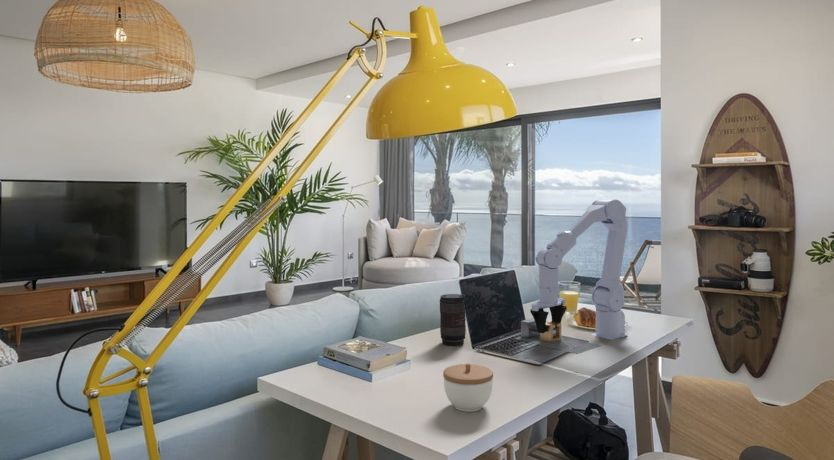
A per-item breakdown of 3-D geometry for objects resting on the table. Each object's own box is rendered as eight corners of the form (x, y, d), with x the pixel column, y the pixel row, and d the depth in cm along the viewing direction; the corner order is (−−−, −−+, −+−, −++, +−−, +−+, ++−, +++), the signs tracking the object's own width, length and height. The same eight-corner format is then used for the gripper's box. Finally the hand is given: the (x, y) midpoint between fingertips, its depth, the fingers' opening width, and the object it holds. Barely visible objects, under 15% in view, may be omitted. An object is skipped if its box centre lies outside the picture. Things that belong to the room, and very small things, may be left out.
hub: (550, 337, 171) (550, 320, 171) (561, 340, 168) (561, 323, 168) (540, 340, 167) (540, 323, 167) (550, 343, 164) (550, 325, 164)
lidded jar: (459, 394, 124) (459, 354, 124) (501, 403, 118) (501, 361, 118) (434, 409, 116) (433, 366, 115) (478, 420, 110) (478, 375, 109)
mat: (539, 333, 179) (539, 331, 179) (601, 347, 161) (601, 345, 161) (513, 340, 171) (513, 338, 171) (576, 355, 153) (576, 353, 153)
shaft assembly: (534, 333, 177) (534, 317, 176) (561, 339, 169) (561, 323, 168) (521, 337, 172) (521, 320, 172) (548, 343, 164) (548, 326, 164)
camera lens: (466, 340, 172) (465, 293, 171) (465, 347, 164) (465, 298, 163) (440, 339, 172) (440, 293, 172) (439, 346, 164) (438, 297, 164)
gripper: (545, 291, 160) (545, 337, 160) (573, 285, 169) (573, 328, 170) (525, 288, 165) (526, 332, 166) (554, 283, 174) (554, 324, 175)
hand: (548, 330), depth 168 cm, fingers open, 7 cm apart
